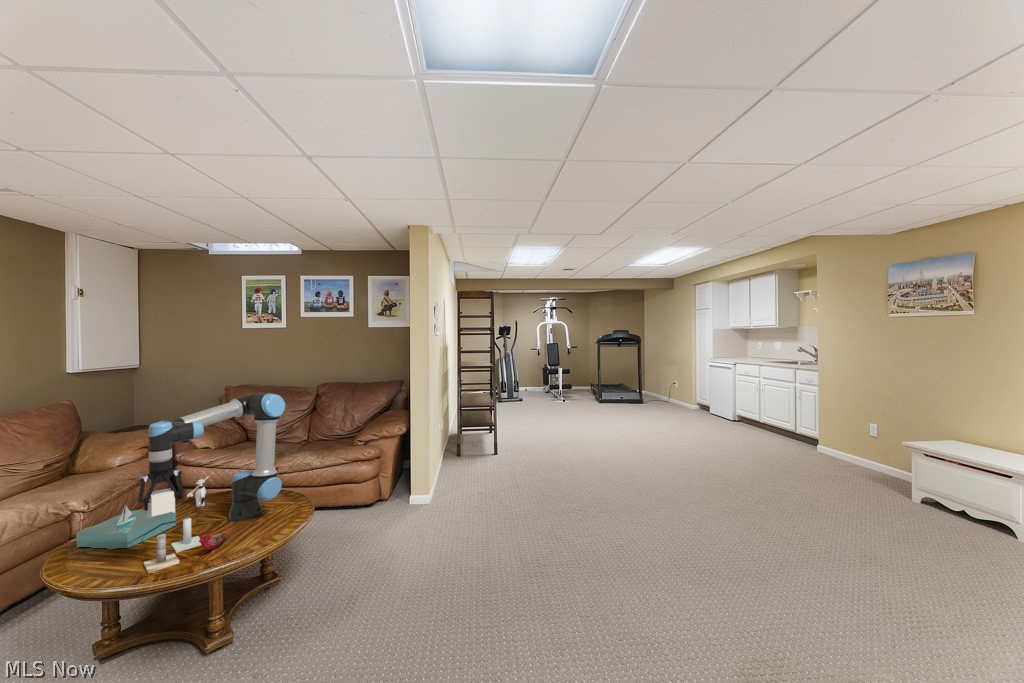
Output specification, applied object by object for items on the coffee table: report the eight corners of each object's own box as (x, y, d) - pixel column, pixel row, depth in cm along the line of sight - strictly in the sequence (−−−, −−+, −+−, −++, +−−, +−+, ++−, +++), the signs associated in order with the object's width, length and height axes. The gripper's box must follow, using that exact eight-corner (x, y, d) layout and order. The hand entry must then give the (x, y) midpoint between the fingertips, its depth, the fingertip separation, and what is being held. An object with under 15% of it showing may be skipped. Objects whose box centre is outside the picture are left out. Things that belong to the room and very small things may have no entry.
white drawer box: (170, 506, 182) (170, 485, 182) (174, 511, 177) (173, 489, 177) (148, 511, 176) (148, 490, 176) (151, 516, 171) (151, 494, 171)
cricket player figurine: (186, 505, 240) (186, 478, 240) (208, 500, 247) (208, 475, 247) (188, 512, 231) (187, 484, 231) (211, 507, 237) (211, 480, 237)
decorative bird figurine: (195, 560, 180) (195, 536, 180) (231, 540, 197) (231, 519, 197) (201, 560, 179) (201, 537, 179) (237, 541, 196) (236, 519, 196)
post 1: (143, 564, 176) (143, 536, 176) (174, 555, 184) (173, 528, 184) (148, 573, 170) (147, 543, 169) (179, 563, 177) (179, 535, 177)
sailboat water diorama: (127, 550, 190) (127, 514, 190) (76, 548, 192) (76, 512, 192) (176, 526, 215) (175, 493, 215) (130, 524, 217) (130, 492, 217)
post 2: (171, 546, 192) (171, 519, 192) (198, 538, 200) (197, 512, 200) (176, 553, 186) (175, 525, 186) (203, 545, 193) (203, 518, 193)
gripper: (188, 453, 186) (189, 505, 187) (127, 463, 171) (127, 520, 172) (192, 456, 181) (193, 509, 182) (129, 467, 166) (130, 525, 167)
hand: (161, 514), depth 177 cm, fingers closed on white drawer box, 7 cm apart
